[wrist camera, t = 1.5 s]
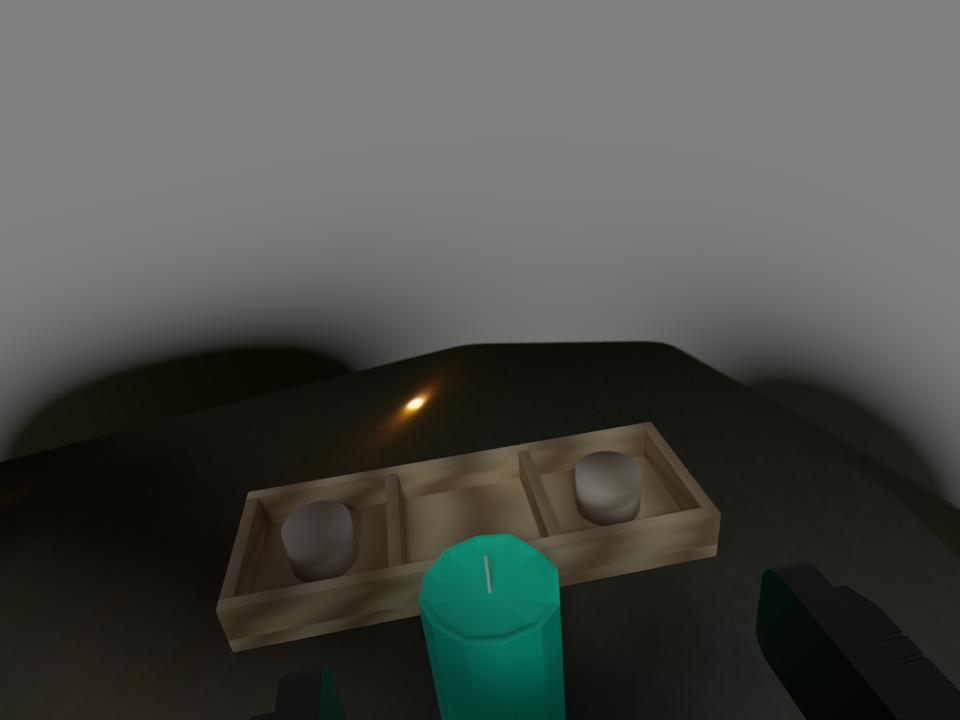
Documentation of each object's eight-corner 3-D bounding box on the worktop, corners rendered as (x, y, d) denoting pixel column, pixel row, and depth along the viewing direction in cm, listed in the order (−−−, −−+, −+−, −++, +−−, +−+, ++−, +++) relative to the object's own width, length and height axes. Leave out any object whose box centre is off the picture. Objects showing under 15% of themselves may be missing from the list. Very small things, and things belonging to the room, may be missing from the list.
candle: (504, 833, 26) (478, 649, 21) (423, 733, 31) (383, 559, 25) (593, 735, 30) (591, 554, 24) (509, 657, 34) (490, 488, 28)
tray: (233, 652, 36) (213, 605, 34) (261, 529, 45) (246, 486, 43) (716, 555, 39) (721, 507, 37) (648, 458, 48) (650, 416, 46)
